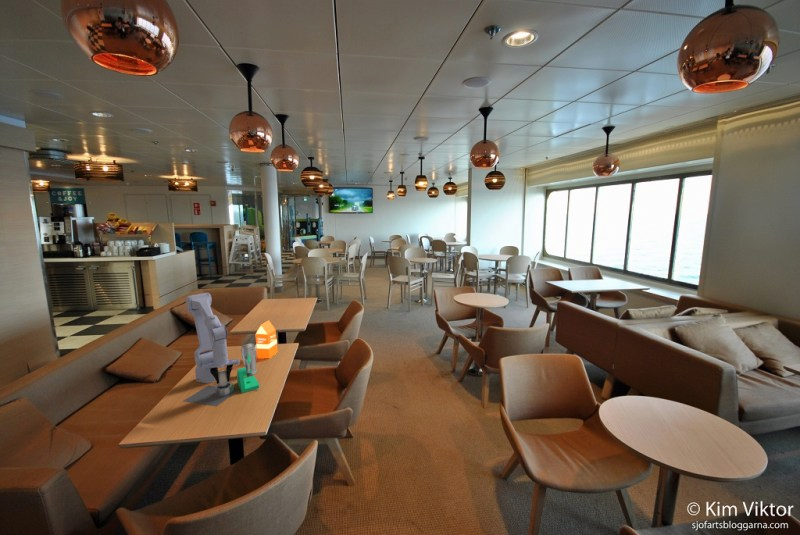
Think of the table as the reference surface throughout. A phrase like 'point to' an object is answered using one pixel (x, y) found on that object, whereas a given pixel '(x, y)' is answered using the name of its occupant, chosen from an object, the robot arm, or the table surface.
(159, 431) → the table surface
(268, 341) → the orange juice
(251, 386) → the camera mount
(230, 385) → the sleeve
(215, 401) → the mat
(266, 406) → the table surface
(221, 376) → the plug cap
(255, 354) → the beer glass
